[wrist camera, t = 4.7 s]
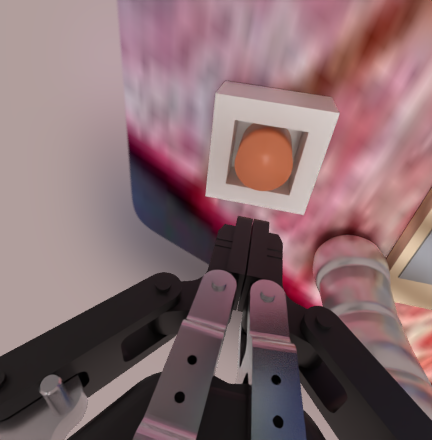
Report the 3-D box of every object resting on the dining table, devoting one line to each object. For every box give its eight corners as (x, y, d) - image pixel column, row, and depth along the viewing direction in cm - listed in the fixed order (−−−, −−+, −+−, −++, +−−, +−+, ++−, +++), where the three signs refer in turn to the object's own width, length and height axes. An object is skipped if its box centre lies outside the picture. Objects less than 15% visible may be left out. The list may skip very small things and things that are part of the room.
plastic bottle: (335, 283, 32) (382, 551, 16) (297, 245, 30) (309, 510, 14) (394, 258, 29) (525, 565, 13) (356, 213, 27) (457, 514, 11)
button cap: (245, 115, 23) (239, 133, 19) (297, 123, 22) (299, 143, 19) (237, 162, 25) (230, 185, 22) (284, 171, 25) (284, 195, 21)
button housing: (225, 80, 22) (215, 93, 19) (331, 97, 22) (339, 113, 18) (214, 173, 27) (205, 196, 24) (301, 189, 26) (303, 215, 23)
